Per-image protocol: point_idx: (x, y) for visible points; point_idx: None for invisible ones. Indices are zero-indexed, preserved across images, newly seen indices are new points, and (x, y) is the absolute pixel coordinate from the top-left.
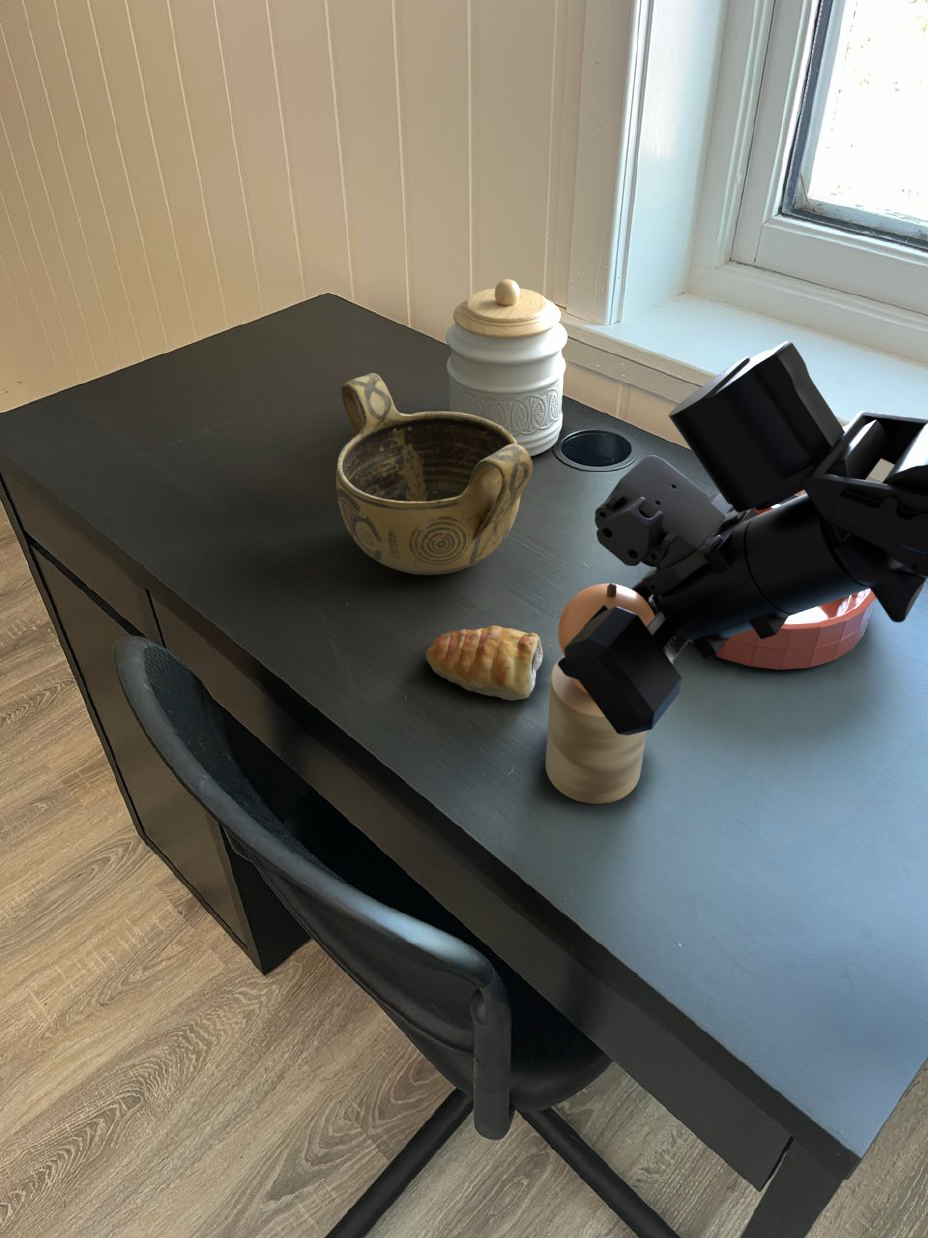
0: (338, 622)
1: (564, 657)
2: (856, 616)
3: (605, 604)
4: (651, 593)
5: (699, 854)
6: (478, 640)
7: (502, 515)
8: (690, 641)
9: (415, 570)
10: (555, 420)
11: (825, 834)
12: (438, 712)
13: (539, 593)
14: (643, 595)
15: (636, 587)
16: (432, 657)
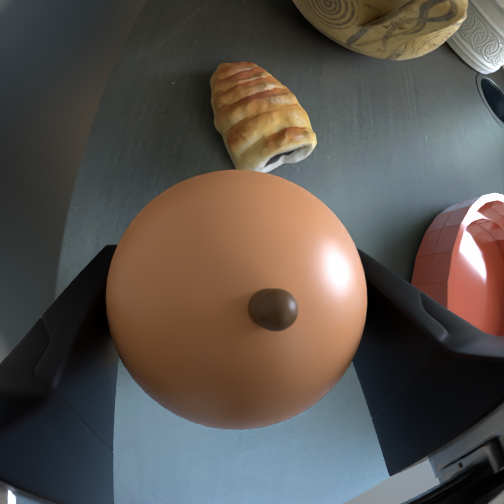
0: (221, 4)
1: (97, 261)
2: None
3: (207, 318)
4: (389, 340)
5: (180, 429)
6: (258, 91)
7: (399, 33)
8: (412, 276)
9: (301, 11)
10: (493, 64)
11: (274, 485)
12: (173, 116)
13: (374, 116)
14: (379, 319)
15: (387, 298)
16: (217, 70)
